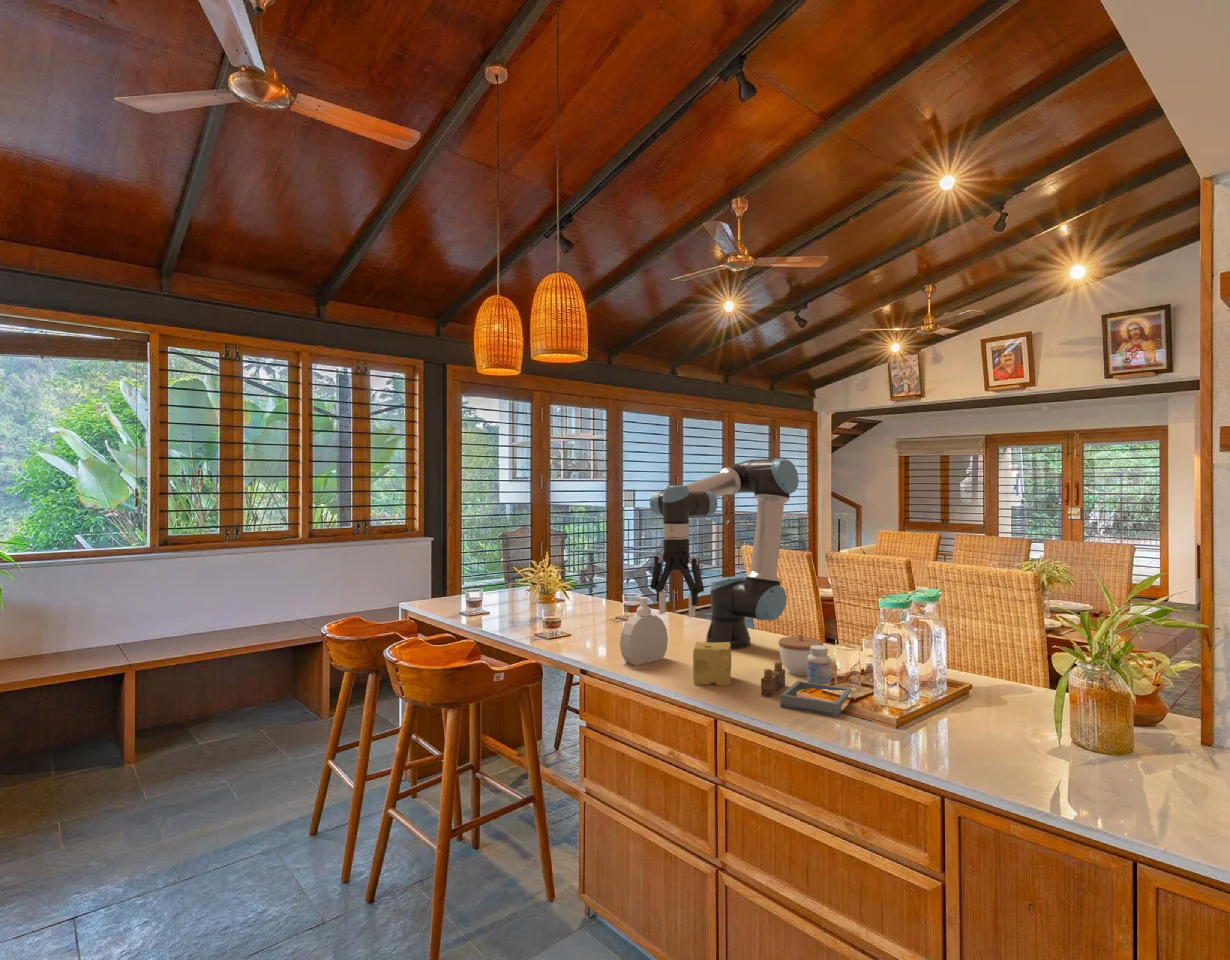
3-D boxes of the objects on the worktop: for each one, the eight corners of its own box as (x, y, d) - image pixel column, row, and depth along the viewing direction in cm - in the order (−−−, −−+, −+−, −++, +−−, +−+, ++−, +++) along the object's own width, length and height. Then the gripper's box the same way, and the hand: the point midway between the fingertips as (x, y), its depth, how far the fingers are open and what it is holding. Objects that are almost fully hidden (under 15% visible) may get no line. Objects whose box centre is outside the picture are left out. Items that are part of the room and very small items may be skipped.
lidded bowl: (785, 664, 206) (785, 628, 206) (827, 669, 199) (827, 632, 200) (773, 674, 195) (773, 636, 195) (817, 680, 189) (817, 641, 189)
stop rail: (776, 683, 186) (776, 660, 186) (785, 685, 184) (784, 661, 184) (761, 695, 176) (760, 671, 176) (770, 697, 174) (769, 672, 174)
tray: (797, 691, 178) (797, 680, 178) (851, 700, 171) (851, 688, 171) (780, 706, 167) (780, 694, 167) (837, 717, 159) (837, 704, 159)
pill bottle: (804, 685, 184) (803, 644, 184) (825, 684, 185) (825, 643, 185) (812, 692, 178) (812, 650, 178) (834, 691, 179) (834, 649, 179)
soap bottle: (657, 655, 218) (657, 593, 218) (668, 658, 214) (668, 596, 214) (618, 663, 208) (618, 599, 208) (629, 667, 204) (628, 601, 204)
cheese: (730, 687, 184) (730, 650, 184) (691, 685, 186) (691, 649, 186) (731, 676, 194) (731, 641, 194) (694, 674, 196) (694, 640, 196)
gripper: (637, 537, 199) (638, 613, 198) (704, 540, 187) (705, 621, 187) (650, 535, 205) (651, 609, 205) (715, 538, 193) (716, 616, 193)
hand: (677, 614), depth 196 cm, fingers open, 9 cm apart
